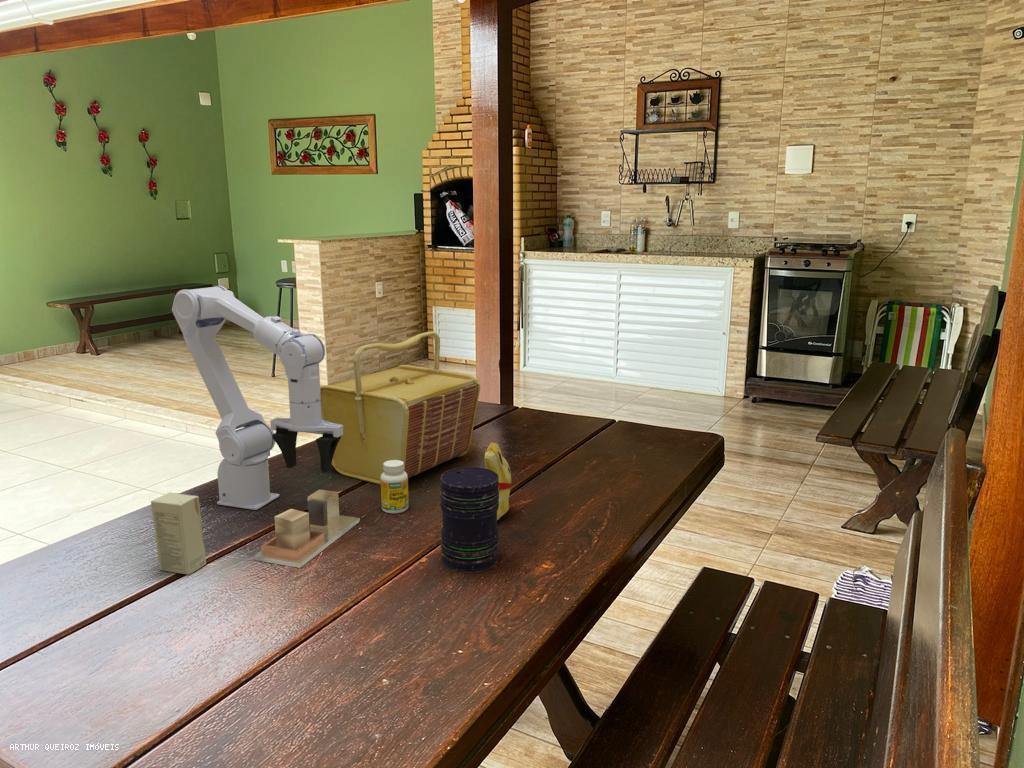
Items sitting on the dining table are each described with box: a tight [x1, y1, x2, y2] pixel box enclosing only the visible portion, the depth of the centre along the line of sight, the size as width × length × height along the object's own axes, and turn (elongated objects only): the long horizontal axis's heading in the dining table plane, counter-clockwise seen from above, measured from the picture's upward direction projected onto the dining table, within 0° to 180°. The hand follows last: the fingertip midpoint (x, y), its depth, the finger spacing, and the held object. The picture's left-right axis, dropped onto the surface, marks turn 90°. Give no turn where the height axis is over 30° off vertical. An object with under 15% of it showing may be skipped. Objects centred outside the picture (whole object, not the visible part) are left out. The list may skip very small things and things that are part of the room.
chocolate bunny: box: [483, 442, 513, 521], centre depth 146 cm, size 7×11×15 cm, turn 155°
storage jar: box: [439, 466, 500, 574], centre depth 127 cm, size 10×10×15 cm
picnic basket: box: [320, 331, 481, 486], centre depth 172 cm, size 29×26×30 cm
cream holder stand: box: [253, 489, 360, 569], centre depth 135 cm, size 9×20×7 cm, turn 162°
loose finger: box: [273, 508, 311, 550], centre depth 131 cm, size 4×5×6 cm
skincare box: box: [150, 492, 207, 575], centre depth 124 cm, size 6×4×12 cm
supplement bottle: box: [380, 460, 410, 514], centre depth 149 cm, size 5×5×10 cm
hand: (308, 468), depth 145 cm, fingers open, 7 cm apart
